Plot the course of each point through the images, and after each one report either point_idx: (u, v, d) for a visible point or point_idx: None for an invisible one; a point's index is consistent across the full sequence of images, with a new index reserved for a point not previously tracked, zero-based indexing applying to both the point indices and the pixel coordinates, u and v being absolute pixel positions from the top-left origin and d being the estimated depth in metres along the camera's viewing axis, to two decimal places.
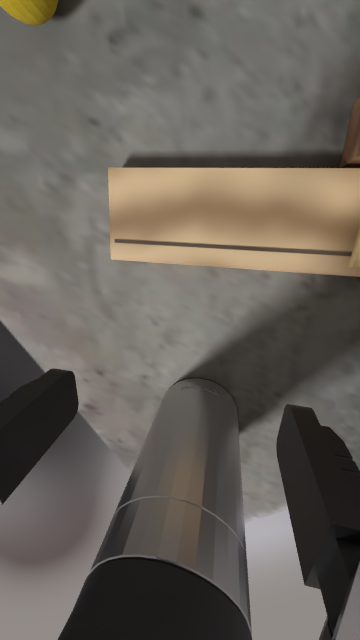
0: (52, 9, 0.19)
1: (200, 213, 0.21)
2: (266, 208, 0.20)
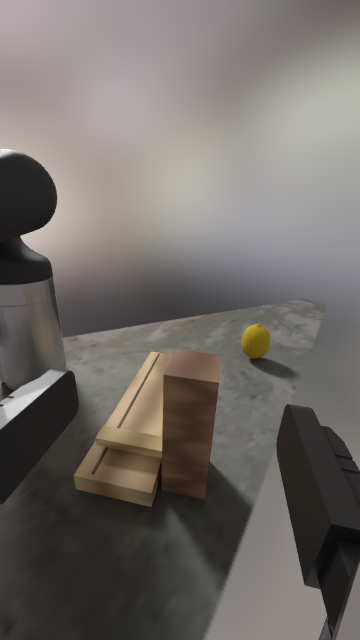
0: (246, 353, 0.48)
1: (162, 379, 0.39)
2: (156, 403, 0.33)
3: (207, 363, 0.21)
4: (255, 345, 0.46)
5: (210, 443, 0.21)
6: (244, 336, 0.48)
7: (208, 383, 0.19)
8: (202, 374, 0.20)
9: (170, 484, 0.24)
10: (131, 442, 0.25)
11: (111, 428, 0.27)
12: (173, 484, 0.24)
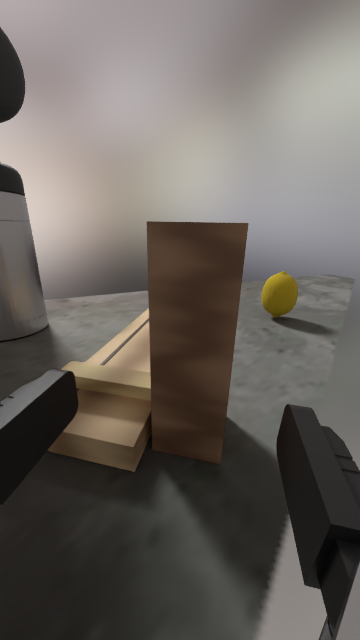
0: (268, 308, 0.39)
1: None
2: None
3: None
4: (280, 296, 0.37)
5: (230, 359, 0.12)
6: (265, 287, 0.39)
7: (227, 227, 0.10)
8: None
9: (165, 439, 0.15)
10: (108, 378, 0.17)
11: (82, 364, 0.18)
12: (170, 439, 0.15)
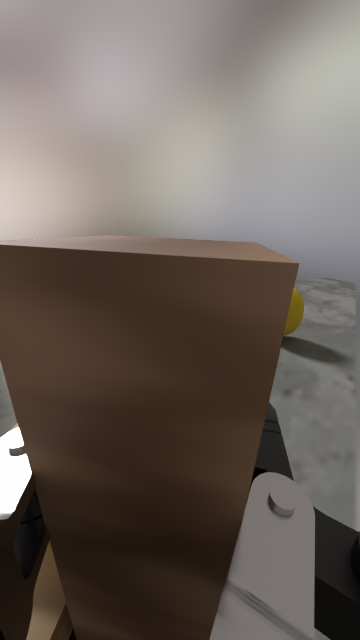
0: None
1: None
2: None
3: (214, 244, 0.05)
4: None
5: (225, 571, 0.05)
6: None
7: (221, 275, 0.03)
8: (190, 250, 0.04)
9: None
10: None
11: None
12: None
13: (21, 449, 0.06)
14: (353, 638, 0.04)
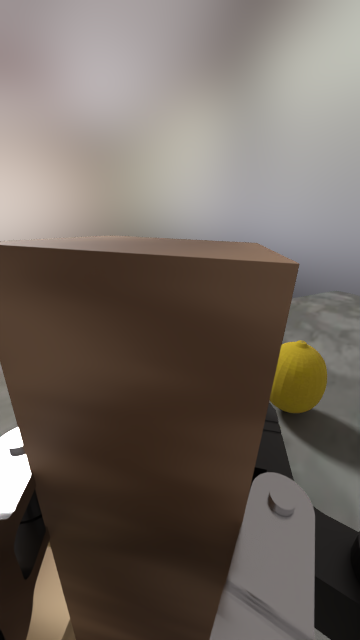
0: (275, 402, 0.23)
1: None
2: None
3: (214, 244, 0.05)
4: (298, 391, 0.20)
5: (225, 572, 0.05)
6: None
7: (221, 275, 0.03)
8: (190, 251, 0.04)
9: None
10: None
11: None
12: None
13: (21, 449, 0.06)
14: (353, 638, 0.04)
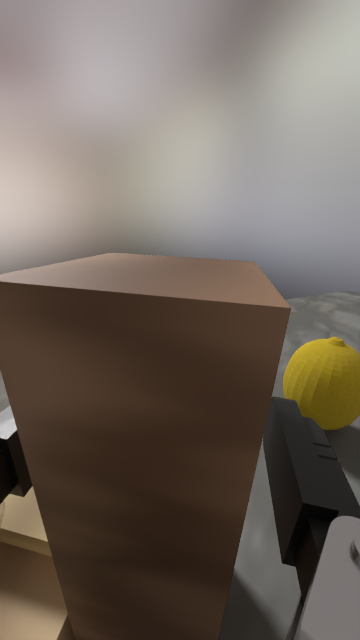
0: None
1: None
2: None
3: (212, 268, 0.05)
4: (334, 402, 0.16)
5: (224, 588, 0.05)
6: (295, 371, 0.17)
7: (218, 316, 0.03)
8: (188, 285, 0.04)
9: None
10: (9, 517, 0.09)
11: None
12: None
13: None
14: None
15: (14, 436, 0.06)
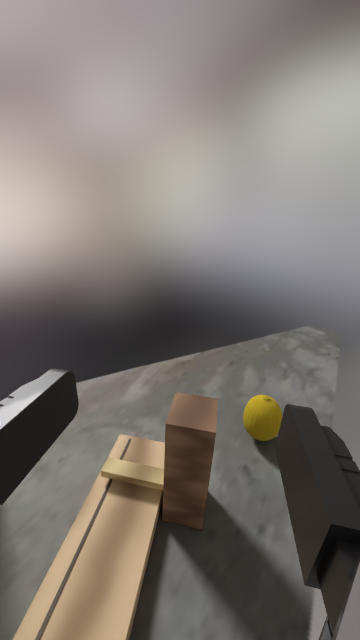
0: (250, 434, 0.36)
1: (126, 504, 0.26)
2: (107, 572, 0.21)
3: (205, 409, 0.23)
4: (263, 428, 0.34)
5: (207, 483, 0.23)
6: (247, 412, 0.35)
7: (206, 432, 0.21)
8: (201, 423, 0.22)
9: (170, 515, 0.26)
10: (135, 474, 0.27)
11: (116, 460, 0.29)
12: (173, 516, 0.26)
13: None
14: None
15: None
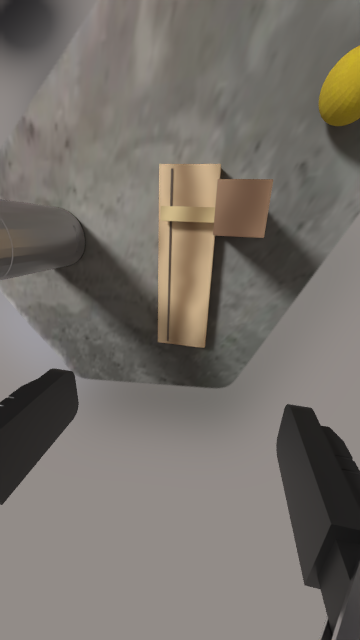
0: (323, 118, 0.26)
1: (189, 235, 0.33)
2: (191, 274, 0.35)
3: (255, 204, 0.20)
4: (343, 120, 0.24)
5: None
6: (328, 93, 0.23)
7: None
8: (249, 228, 0.21)
9: None
10: (190, 218, 0.31)
11: (169, 208, 0.31)
12: None
13: None
14: None
15: None
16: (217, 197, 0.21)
